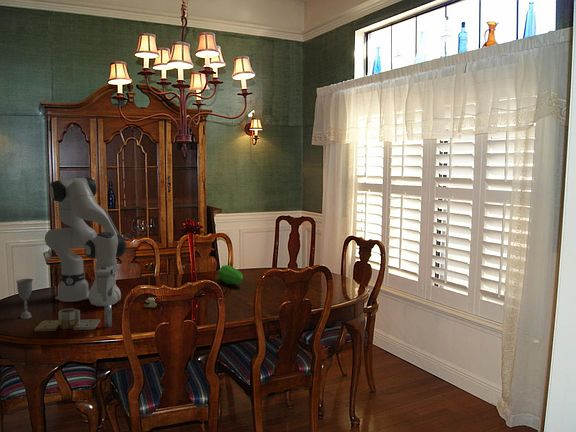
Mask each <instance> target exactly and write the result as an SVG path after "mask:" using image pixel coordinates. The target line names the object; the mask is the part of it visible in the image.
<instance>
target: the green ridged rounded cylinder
mask: <svg viewBox="0 0 576 432" xmlns="http://www.w3.org/2000/svg"><path fill="white" fill-rule="evenodd" d="M243 278H244V277H243V273H242V272H241V271H240V270H238V269H236V268H235V267H234V266H232V265H229V264H225V265H222V266H221V268H220V269H218V279H219V280H220V281H222V282H224V284H227V285H239V284H241V282H243Z"/></svg>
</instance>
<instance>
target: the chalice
mask: <svg viewBox="0 0 576 432" xmlns="http://www.w3.org/2000/svg"><path fill="white" fill-rule="evenodd" d="M33 280H34V279H32V278H21V279H17V280H15V283H16V286H17V288H16V290H17V293H18V295H19V297H20V298H21V300H23V305H24V306H23V308H24V311H23V312H22V313H21V315H20V319H26V320H27V319H30V318H32V317H33V315H32V313H31V312H30V311H28V302H27V300H29V298H30V296H31V294H32V291H33Z"/></svg>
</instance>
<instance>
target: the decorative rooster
mask: <svg viewBox="0 0 576 432" xmlns="http://www.w3.org/2000/svg"><path fill="white" fill-rule="evenodd" d="M95 271H96V263H95V265H94V272H95ZM94 277H95V279H94V281H93V283H92V285H91V287H89V299H88V300H89V302H90V304H91V305H92V306H95V307H105V306H104V305H106V304H111V306H112V305H115V304H117V302H119V301H121V299H122V298H121V296H122V292H121V290H120V288H119V287H118V286H117V284H116V283H115V284H114V285H113V290H112V295H111V296H108V292H107V301H106V302H103V298H102V295H101V294H99V293H98V291H97V281H96V278H97V276H95V275H94Z"/></svg>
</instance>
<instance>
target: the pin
mask: <svg viewBox="0 0 576 432" xmlns="http://www.w3.org/2000/svg"><path fill="white" fill-rule="evenodd" d="M103 307H104V327H105V328H111V327H113V324H112V323H113V322H112V321H113V319H112V317H113V315H112V314H113V313H112V311H113V310H112V308H113V307H112V305H111V304H106V305H104V306H103Z"/></svg>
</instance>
